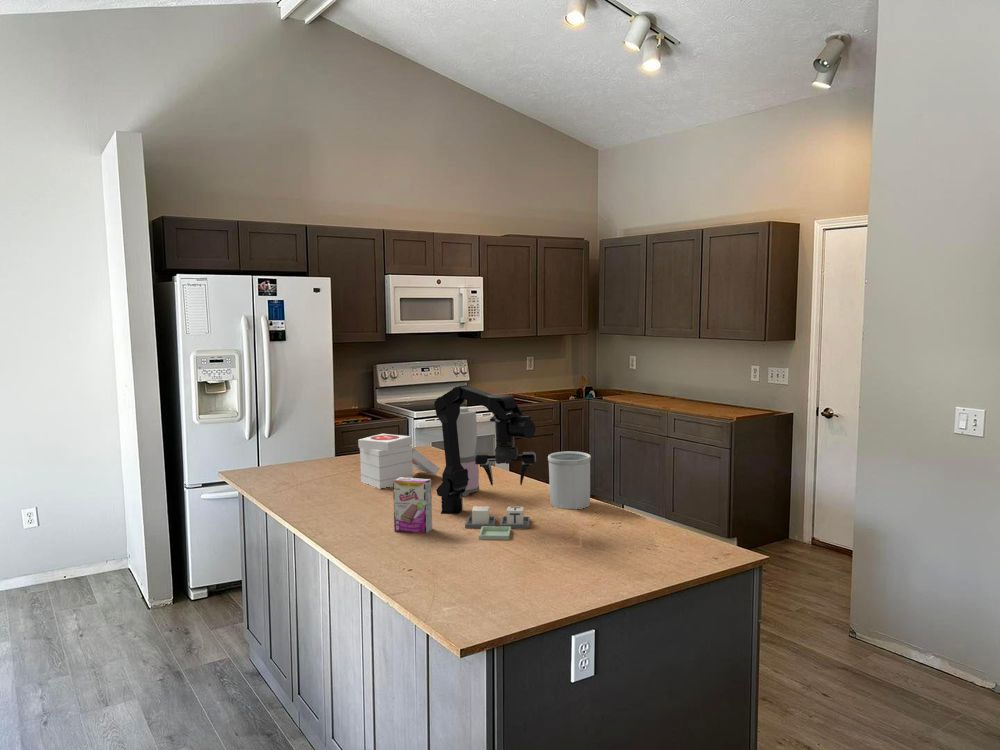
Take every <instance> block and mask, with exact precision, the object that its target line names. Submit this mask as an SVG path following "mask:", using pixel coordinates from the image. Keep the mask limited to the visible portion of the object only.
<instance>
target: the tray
mask: <svg viewBox="0 0 1000 750" xmlns="http://www.w3.org/2000/svg"><path fill="white" fill-rule="evenodd" d="M511 532H512V529H511V527H500V526H496V525H495V526H482V528H480V531H479V534H478V540H483V541H484V540H491V541H492V540H493V541H496V540H501V541H502V540H503V541H508V540H509V541H510V536H511Z"/></svg>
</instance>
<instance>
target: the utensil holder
mask: <svg viewBox="0 0 1000 750" xmlns="http://www.w3.org/2000/svg"><path fill="white" fill-rule="evenodd" d="M591 459H592V456H591V454H589V453H587V452H582V451H573V450H572V451H569V450H568V451H558V452H552V453H550V454H548V456H547V461H548V476H549V481H548V482H549V499H550V501H549V502H550V506H551V505H552V506H553V507H552V506H551V507H552V508H556V509H563V510H577V509H579V510H583V508H584V509H586V507H587V508H588V507H590V505H591Z"/></svg>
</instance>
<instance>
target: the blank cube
mask: <svg viewBox="0 0 1000 750" xmlns="http://www.w3.org/2000/svg"><path fill="white" fill-rule="evenodd" d="M471 516H472V524H489V516H490V506H487V505H486V506H485V505H484V506H475V505H473V507H472V510H471Z"/></svg>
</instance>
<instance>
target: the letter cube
mask: <svg viewBox="0 0 1000 750" xmlns="http://www.w3.org/2000/svg"><path fill="white" fill-rule="evenodd" d="M506 516H507V524H523V523H524V517H525V514H524V506H507V509H506Z"/></svg>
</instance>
